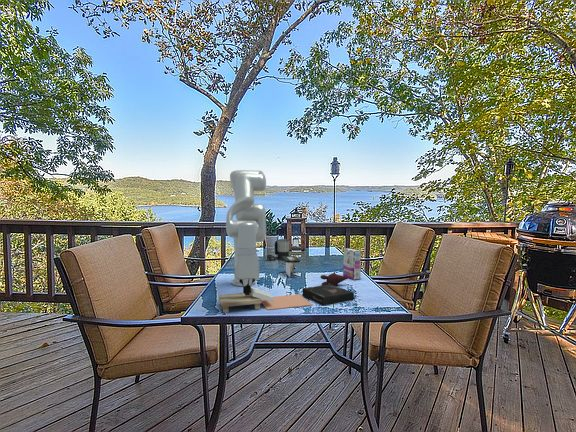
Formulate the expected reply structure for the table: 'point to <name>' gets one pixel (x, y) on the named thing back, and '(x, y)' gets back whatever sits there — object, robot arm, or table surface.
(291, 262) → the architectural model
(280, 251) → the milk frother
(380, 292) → the table surface
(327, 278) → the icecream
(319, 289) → the portable cd player
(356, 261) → the candy bar box
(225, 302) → the serving board
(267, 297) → the coaster
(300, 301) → the mat
